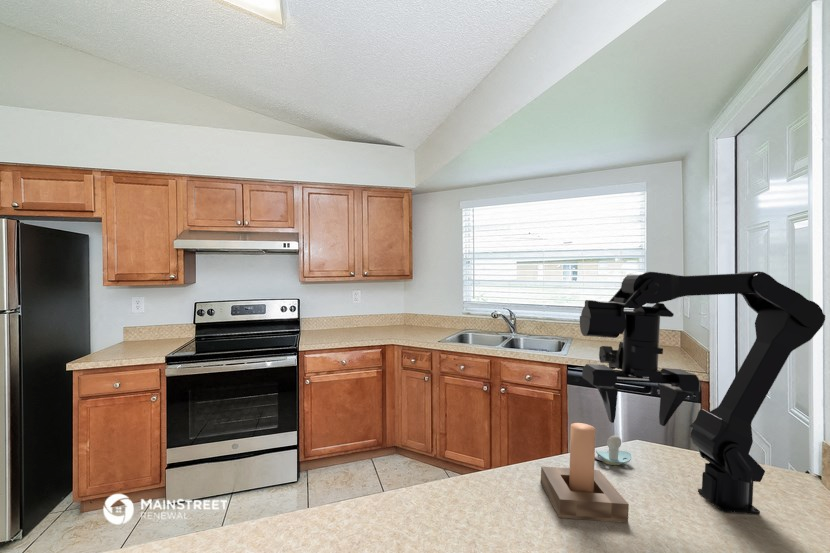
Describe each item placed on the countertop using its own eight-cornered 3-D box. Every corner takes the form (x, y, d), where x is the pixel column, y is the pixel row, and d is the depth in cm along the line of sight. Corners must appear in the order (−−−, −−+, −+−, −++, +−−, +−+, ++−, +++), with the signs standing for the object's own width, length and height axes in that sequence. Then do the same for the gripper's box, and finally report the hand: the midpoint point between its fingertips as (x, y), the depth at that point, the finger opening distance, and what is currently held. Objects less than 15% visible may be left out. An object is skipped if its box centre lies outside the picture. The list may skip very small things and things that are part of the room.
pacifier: (587, 455, 87) (603, 468, 81) (587, 427, 87) (603, 438, 81) (617, 455, 88) (635, 467, 82) (618, 427, 88) (635, 438, 82)
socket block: (598, 485, 74) (599, 470, 74) (627, 522, 63) (628, 504, 63) (540, 481, 74) (541, 466, 74) (559, 517, 63) (560, 499, 63)
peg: (582, 490, 71) (584, 422, 71) (598, 502, 67) (600, 430, 67) (564, 493, 70) (565, 424, 70) (579, 505, 66) (581, 432, 66)
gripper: (666, 335, 79) (662, 411, 79) (573, 330, 80) (570, 405, 80) (704, 345, 68) (700, 433, 68) (596, 339, 69) (592, 426, 69)
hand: (636, 423), depth 71 cm, fingers open, 9 cm apart
